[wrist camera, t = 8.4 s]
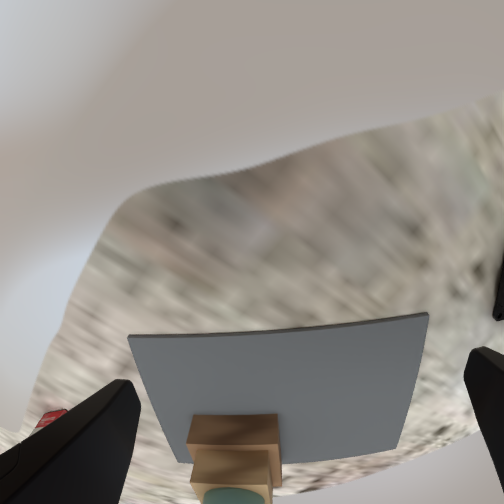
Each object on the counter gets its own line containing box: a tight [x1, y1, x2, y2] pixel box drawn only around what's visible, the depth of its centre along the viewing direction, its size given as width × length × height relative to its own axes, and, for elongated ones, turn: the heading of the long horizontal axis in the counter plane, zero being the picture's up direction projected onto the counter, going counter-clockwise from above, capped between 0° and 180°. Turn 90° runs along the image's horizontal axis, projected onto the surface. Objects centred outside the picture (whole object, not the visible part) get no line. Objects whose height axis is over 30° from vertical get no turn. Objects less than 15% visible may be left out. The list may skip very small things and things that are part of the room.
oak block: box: [190, 450, 273, 504], centre depth 21 cm, size 6×6×3 cm
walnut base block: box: [186, 413, 282, 487], centre depth 24 cm, size 7×7×3 cm
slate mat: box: [127, 313, 429, 464], centre depth 24 cm, size 22×16×1 cm
